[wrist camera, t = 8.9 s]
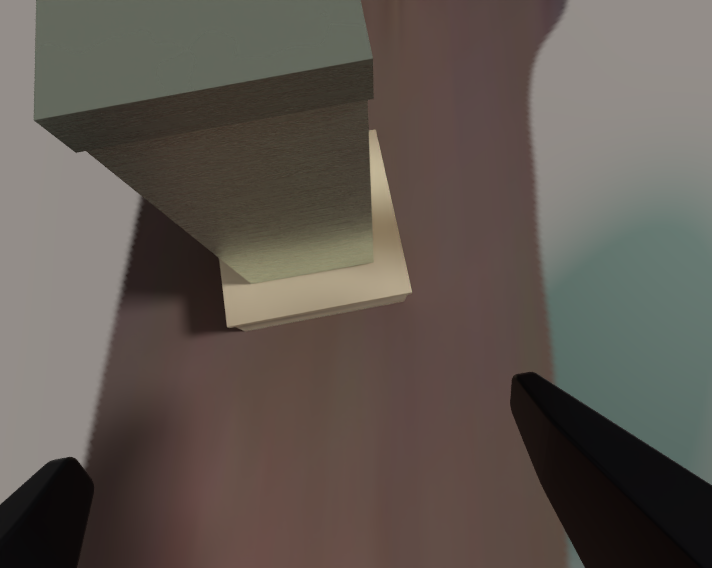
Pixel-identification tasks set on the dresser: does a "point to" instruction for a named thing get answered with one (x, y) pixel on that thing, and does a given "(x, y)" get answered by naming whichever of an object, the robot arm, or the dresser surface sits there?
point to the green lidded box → (223, 119)
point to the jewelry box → (327, 275)
